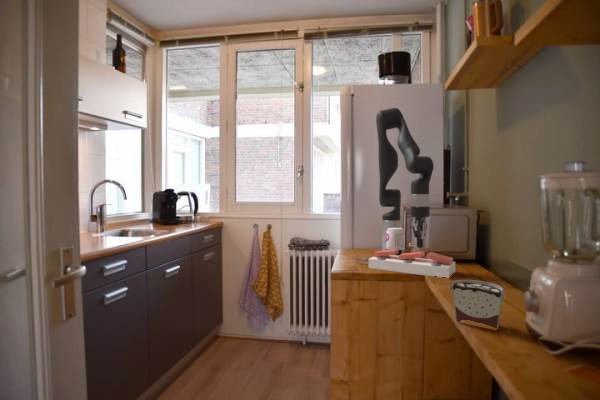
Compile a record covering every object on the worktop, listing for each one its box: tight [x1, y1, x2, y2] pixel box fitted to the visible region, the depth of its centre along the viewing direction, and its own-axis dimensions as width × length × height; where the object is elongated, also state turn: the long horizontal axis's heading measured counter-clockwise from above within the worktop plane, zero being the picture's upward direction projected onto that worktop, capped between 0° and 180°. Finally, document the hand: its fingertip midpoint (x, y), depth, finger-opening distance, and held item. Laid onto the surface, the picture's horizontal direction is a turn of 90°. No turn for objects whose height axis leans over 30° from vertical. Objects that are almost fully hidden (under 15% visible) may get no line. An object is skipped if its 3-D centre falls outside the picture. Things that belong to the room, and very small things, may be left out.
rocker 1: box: [373, 249, 399, 257], centre depth 150 cm, size 6×9×2 cm, turn 55°
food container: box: [449, 279, 506, 329], centre depth 86 cm, size 12×6×10 cm, turn 48°
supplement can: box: [386, 227, 405, 256], centre depth 163 cm, size 8×8×15 cm
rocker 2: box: [425, 251, 454, 265], centre depth 138 cm, size 6×9×2 cm, turn 55°
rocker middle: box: [399, 251, 426, 259], centre depth 144 cm, size 6×9×2 cm, turn 55°
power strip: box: [356, 255, 456, 279], centre depth 145 cm, size 12×40×5 cm, turn 55°
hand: (420, 247), depth 142 cm, fingers closed
